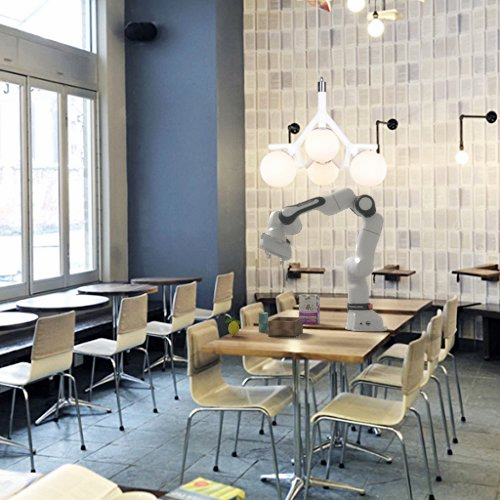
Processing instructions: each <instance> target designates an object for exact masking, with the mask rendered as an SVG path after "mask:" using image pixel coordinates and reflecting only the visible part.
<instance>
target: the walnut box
mask: <svg viewBox="0 0 500 500" xmlns="http://www.w3.org/2000/svg"><path fill="white" fill-rule="evenodd" d="M303 332H304V324H303V317H299V316H298V317H297V316H296V317H295V316H275V317H273V318H271V319H268V332H267V336H268V337H273V338H294V337H295V338H297V337H298V336H299V334H300V335H301V333H302V334H303ZM296 336H297V337H296Z"/></svg>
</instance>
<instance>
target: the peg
mask: <svg viewBox="0 0 500 500" xmlns="http://www.w3.org/2000/svg"><path fill="white" fill-rule="evenodd" d="M268 321H269V312H262V311H261V312H258V333H268Z"/></svg>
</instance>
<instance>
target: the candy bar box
mask: <svg viewBox="0 0 500 500" xmlns="http://www.w3.org/2000/svg"><path fill="white" fill-rule="evenodd" d="M320 299H321V298H320V294H299V295H298V317H303V325H319V324H321V307H320V306H321V302H320V301H321V300H320Z"/></svg>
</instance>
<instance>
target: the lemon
mask: <svg viewBox="0 0 500 500" xmlns="http://www.w3.org/2000/svg"><path fill="white" fill-rule="evenodd" d="M232 320H233V321H232ZM224 323H225V324H228V323H229V325H228V332H229V334H231V335H232V336H233V337H235V336H236V335H237V334H238V333H240V326H242V322H241V321H240V320H238V319H235V318H234V317H229V318H227V319H226V320H225V322H224ZM239 325H240V326H239Z"/></svg>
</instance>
